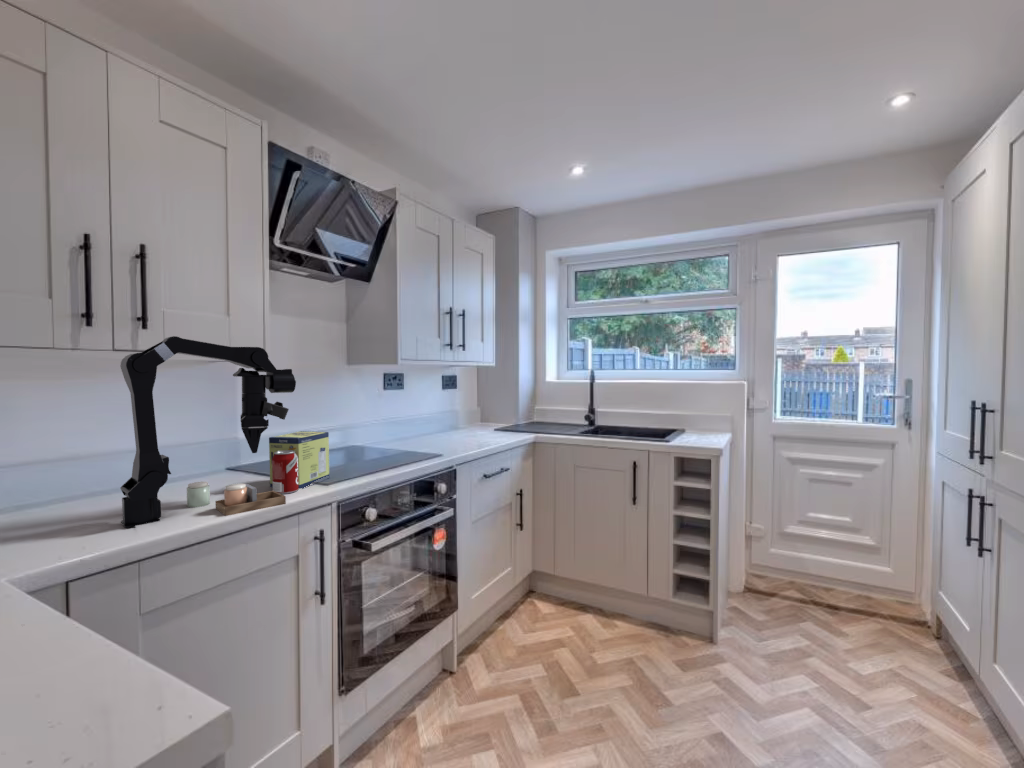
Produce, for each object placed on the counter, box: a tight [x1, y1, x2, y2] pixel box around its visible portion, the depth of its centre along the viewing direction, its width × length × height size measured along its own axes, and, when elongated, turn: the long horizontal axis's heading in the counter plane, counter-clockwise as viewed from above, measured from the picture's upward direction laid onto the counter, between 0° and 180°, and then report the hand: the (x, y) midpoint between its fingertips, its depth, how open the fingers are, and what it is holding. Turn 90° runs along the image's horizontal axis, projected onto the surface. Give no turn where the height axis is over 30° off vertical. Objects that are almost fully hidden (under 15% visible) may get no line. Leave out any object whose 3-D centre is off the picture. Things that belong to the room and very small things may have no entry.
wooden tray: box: [215, 490, 287, 517], centre depth 124 cm, size 14×9×2 cm, turn 136°
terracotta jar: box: [223, 483, 247, 507], centre depth 121 cm, size 5×5×6 cm
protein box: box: [268, 430, 330, 490], centre depth 151 cm, size 10×16×16 cm
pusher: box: [245, 483, 258, 503], centre depth 124 cm, size 1×7×5 cm, turn 46°
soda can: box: [272, 450, 299, 495], centre depth 139 cm, size 7×7×12 cm
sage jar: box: [186, 481, 211, 509], centre depth 126 cm, size 5×5×6 cm
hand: (253, 450), depth 131 cm, fingers open, 9 cm apart
